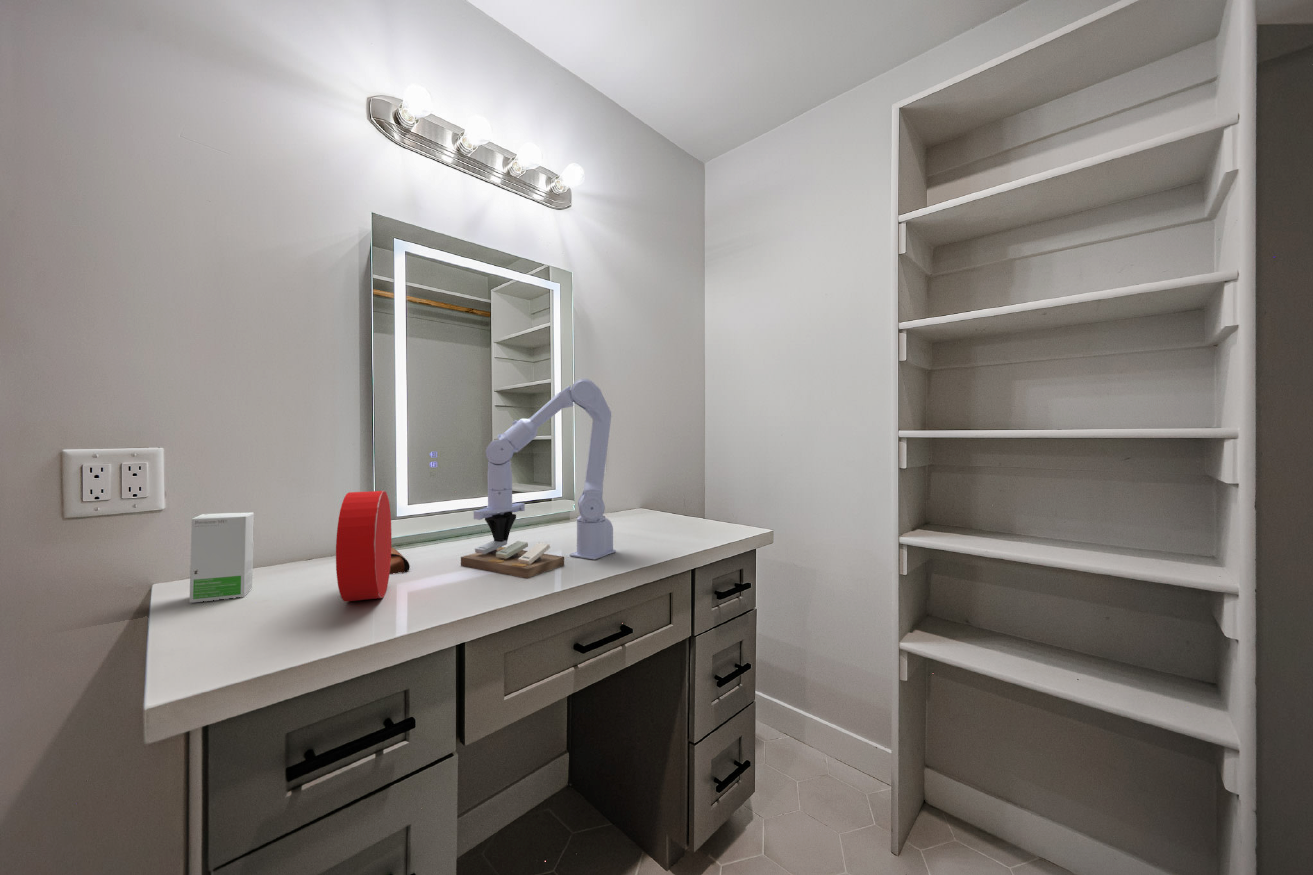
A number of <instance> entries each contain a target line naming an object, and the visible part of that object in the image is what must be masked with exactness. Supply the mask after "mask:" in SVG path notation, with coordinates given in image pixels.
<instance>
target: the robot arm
mask: <svg viewBox="0 0 1313 875" xmlns="http://www.w3.org/2000/svg"><path fill="white" fill-rule="evenodd" d="M574 404H575V405H577V406H578V407H580V408H581V409H583V410H585V412H586V413H587V415H588V416H590V418H591V419H592V421H591V422H592V423H591V431H590V437H589V438H590V439H589V447H588V453H587V454H588V455H587V462H586V471H585V479H584V483H583V491H582V494H581V495H580V497H579V498H578V502H577V504H578V505H577V506H578V511H579V512H578V513H579V516H578V517H576V551H575V552H571V553H569V556H570V557H576V558H582V559H587V560H598V559H601V558H602V557H605V556H608V555H610V554H613V553H616V552H617V549H614V525H613V523H612V521H610V519H609V518H607V517H606V516H605V515H604V513H605V511H606V505H605V503H604V500H603V494H604V477H605V470H606V469H605V468H606V462H607V455H608V454H607V452H608V444H609V437H610V429H611V421H612V411H611V408H610V407H609V405H608V403H607V401H606V399H605V397H604V395H603V392H602V390H601V388H599V387H598V386H597V384H595V382H593V381H592V380H590V379H587V378H580V379H577V380H576V381H575V382H574V383H573V384H572V386H571V385H568V386H566V387H565V388H564V389H563V390H561V391H559V392H558V393H556V394H555V395H554V396H553V397H552V398H551V399H550V400H549V401H548V402H546V403H545V404H544V405H543V406H542V407H541V408H539V409H538V410H537V412H535V413H534V414H533V415H531V417H529V418H524V417H523V418H520V419H519V420H517V419H514V421H512V422H511V424H512V425H511V426H510V427H509V428H508V429H506V431H504V432H503V433H499V434H498V435H497V439H495V440H494V439H493V440H492V441H490V443H489V444H488V446H486V449H485V456H486V458H487V460H488V462H487V506H486V507H483V508H481V509H477V510H473V519H474V520H478V521H480V520H483V519H484V521H485V522H486V523H487V525H488V527H489V530H490V531H491V534H492V538H493V541H498V542H503V541H504V540H507V542H508V540H509V537H510V533H511V529H512V526H513V524H514V523H515V521H516V519H517V514H516V513H518V512H525V510H526V509H525V507H526V504H525V503H524V502H516V503H513V470H512V460H511V459H512V458H513V455H514V453H519V452H520V451H521V450H522V449H524V447H526V446H527V445H528V444H529V443H530V442H531V441H533V440H534V439H536V437H538V428H540V427H541V426H542V425H543V424H545V423H546V422H547V421H548V420H550V419H551V418H553V416H555V415H556V414H557V413H558V412H560V411H562V410H563V409H566V408H567V409H568V408H573V407H574Z"/></svg>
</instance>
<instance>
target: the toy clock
mask: <svg viewBox="0 0 1313 875" xmlns="http://www.w3.org/2000/svg"><path fill="white" fill-rule="evenodd" d="M335 538H336V540H335V543H336V544H335V571H336V581H337V587H338V592H339V595H340V598H341V599H342V601H344V602H345V603H346V602H353V601H354V602H356V601H364V600H373V599H383V598H384V597H385V596H386V593H387V590H388V586H389V579H390V574H389V573H390V563H391V547H392V514H391V504H390V498H389V495H388V493H387V491H386V490H374V491H373V490H372V491H354V492H352V491H349V492H347V493H346V494H345V496H344V498H343V500H342V502H341V506H340V510H339V515H338V522H337V529H336V537H335Z"/></svg>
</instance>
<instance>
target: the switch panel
mask: <svg viewBox="0 0 1313 875" xmlns="http://www.w3.org/2000/svg"><path fill="white" fill-rule="evenodd" d="M506 547H507V546H506ZM506 547H505V546H502V547H500V548H498V549H495V550H493V551H491V552H488V553H486V554H481V553H471V554H468V555H463V556H460V566H462V567H467V568H472V569H478V570H482V571H488V572H492V573H498V574H502V575H507V576H513V577H518V578H523V579H530V578H532V577H535V576H538V575H540V574H543V573H547V572H549V571H552V570H555V569H557V568H558V569H559V568H560V567H563V566H565V556H563V555H562V556H561V555H556V554H548V553H543V554H542V555H541V556H540V557H539V558H537V559H536V560H535V561H534V562H533V563H531V564H530V565H529V564H523V563H519V560H518V559H519V558H520V557H521V556H523V555H524V554H525V553H526V552H528V551H529V550H525V549H523V550H521V551H519V552H518V553H516V554H514V555H512V556H511V557H509V558H507V559H504V558H499V557H496V553H497V552H499V551H500V550H502V549H504V548H506Z"/></svg>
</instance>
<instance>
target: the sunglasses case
mask: <svg viewBox="0 0 1313 875" xmlns="http://www.w3.org/2000/svg"><path fill="white" fill-rule="evenodd" d="M410 568H411V566H410V563H409V561H408V560H407V559H406V558H405V556H403V554H402V553H401V552H399V551H398V550H397V549H396V548H394V547H392V546H391V563H390V573H389V575H393V573H395V574H399V573H398V572H402V573H408V571H409V570H410Z"/></svg>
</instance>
